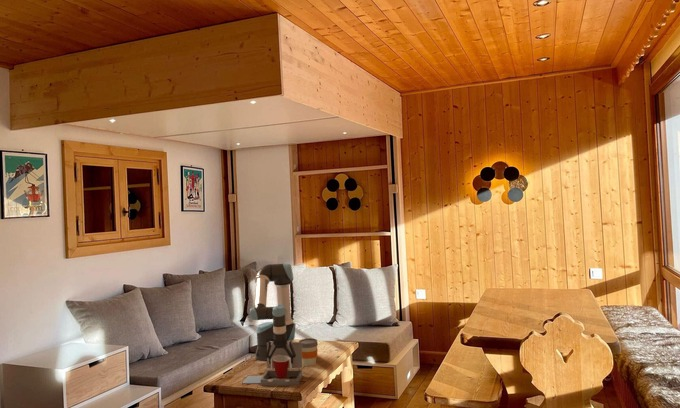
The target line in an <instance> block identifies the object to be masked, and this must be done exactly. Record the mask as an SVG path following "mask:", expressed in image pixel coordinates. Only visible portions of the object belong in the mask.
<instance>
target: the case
mask: <svg viewBox="0 0 680 408" xmlns="http://www.w3.org/2000/svg"><path fill="white" fill-rule="evenodd" d="M262 376H263V377H262V378H261V384H260V387H261V386H262V387H263V386H267V387H269V386H270V387H271V386H273V387H274V386H277V387H278V386H279V387H280V386H287V387H288V386H299V383H300V382H301V379H302V378H303V369H302V370H287V376H286V378H283V379H278V378H277V377H276V372H275V370H266V371H265V372H264V374H263V375H262ZM274 377H275V378H274ZM287 377H289V378H287ZM290 377H291V378H290ZM293 377H295V378H293Z"/></svg>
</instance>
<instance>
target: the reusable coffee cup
mask: <svg viewBox="0 0 680 408" xmlns="http://www.w3.org/2000/svg"><path fill="white" fill-rule="evenodd" d="M298 342H302V366H304V367H312V366H315V365H317V357H318V345H319V343H318V339H315V338H302V339H300V340H299V341H298Z"/></svg>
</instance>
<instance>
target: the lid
mask: <svg viewBox="0 0 680 408" xmlns="http://www.w3.org/2000/svg"><path fill="white" fill-rule="evenodd" d="M286 346H287V348H288V349H289V351H290V352H291V349H290V346H289V345H288V343H287V344H286ZM292 346H293V348H294V351H295V353H296V357H295V358H293V364H292V369H291V370H302V371H303V365H302V342H299V341H295V342H294V341H292ZM268 347H269V343H267V351H268ZM274 348H275V345H274V344H272V346H271V349H270V353H269V356H270V355H271V353H272V351H273V349H274ZM291 354H292V352H291ZM277 355H285V356H289V355H288V354H287V352H286V351H285V350H284V348H276V350H275V352H274V354H273V355H272V357H274V356H277ZM292 355H293V354H292ZM272 357H271V358H272ZM289 357H290V356H289ZM287 370H290V362H289V363H288V369H287ZM266 371H275V368H274V363H273V370H271V364H269V358H267V360H266Z"/></svg>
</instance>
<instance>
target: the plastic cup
mask: <svg viewBox="0 0 680 408" xmlns="http://www.w3.org/2000/svg"><path fill="white" fill-rule="evenodd" d="M289 359H290V357H289V356H285V355H277V356H274V357H272V360H273V363H274V368H273V369H275V370H274V371H275V372H276V377H275V378H276V379H287V377H286V376H287V369H289V368H288V363H289Z"/></svg>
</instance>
